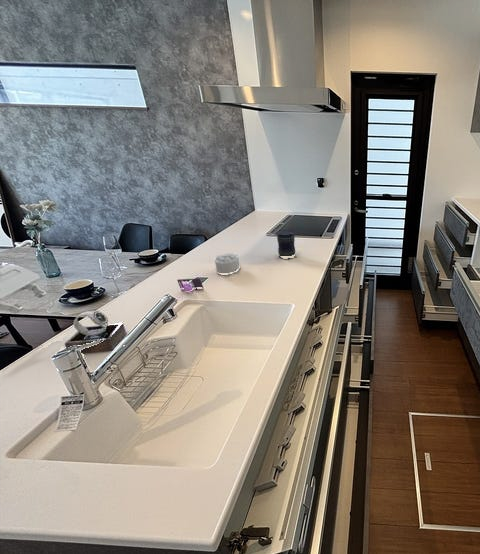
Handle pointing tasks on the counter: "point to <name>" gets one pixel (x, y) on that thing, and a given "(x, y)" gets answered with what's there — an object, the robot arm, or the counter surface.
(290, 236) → the storage jar
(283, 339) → the counter surface
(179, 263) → the counter surface
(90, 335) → the watch
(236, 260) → the lumpy-topped squat cylinder
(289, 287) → the counter surface
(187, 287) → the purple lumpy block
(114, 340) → the box
